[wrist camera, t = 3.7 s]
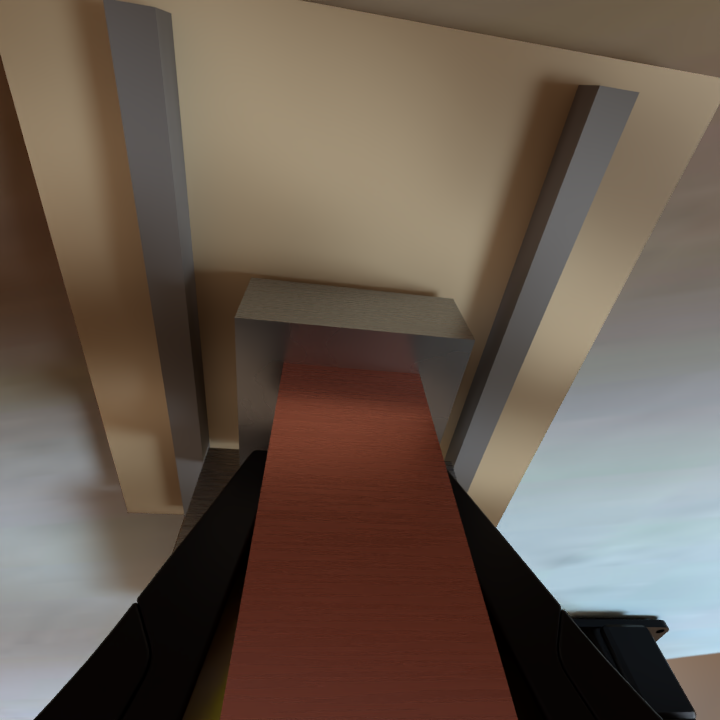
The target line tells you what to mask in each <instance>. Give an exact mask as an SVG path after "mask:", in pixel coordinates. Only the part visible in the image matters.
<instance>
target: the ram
mask: <svg viewBox="0 0 720 720" xmlns="http://www.w3.org/2000/svg"><path fill="white" fill-rule="evenodd" d="M474 342H475V339H474V337H473V335H472V333H471V331H470V329H469V328H468V326H467V324H466V322H465V320H464V318H463V316H462V314H461V313H460V311H459V309H458V307H457V305H456V303H455V301H454V299H450V298H441V297H431V296H422V295H412V294H403V293H394V292H384V291H375V290H365V289H356V288H346V287H337V286H327V285H318V284H308V283H299V282H290V281H280V280H271V279H261V278H252V277H251V279H250V282H249V284H248V286H247V289H246V291H245V294H244V296H243V298H242V301H241V303H240V306H239V308H238V310H237V313H236V315H235V345H236V374H237V403H238V431H239V449H226V448H208V451H207V454H206V457H205V460H204V463H203V466H202V469H201V472H200V475H199V478H198V481H197V484H196V487H195V490H194V493H193V496H192V498H191V501H190V504H189V507H188V510H187V513H186V516H185V519H184V522H183V525H182V528H181V531H180V534H179V537H178V540H177V543H176V546H175V549H174V551H175V550H176V548H177V547H178V546H179V544H180V543H181V542H182V541H183V539H184V538H185V537H186V535H187V534H188V533H189V532H190V530H191V529H192V528H193V526H194V525H195V524H196V523H197V521H198V520H199V519H200V518H201V516H202V515H203V514H204V512H205V511H206V510H207V509H208V507H209V506H210V505H211V503H212V502H213V501H214V500H215V498H216V497H217V496H218V494H219V493H220V492H221V491H222V489H223V488H224V487H225V485H226V484H227V483H228V482H229V480H230V479H231V478H232V477H233V475H234V474H235V473H236V471H237V470H238V469H239V468H240V466H241V465H242V464H243V462H244V461H245V460H246V459H247V457H248V456H249V455H250V453H251V452H252V451H254V450H256V449H258V450H268V453H267V459H266V465H265V470H264V476H263V481H262V487H261V493H260V498H259V504H258V509H257V515H256V521H255V526H254V532H253V537H252V543H251V548H250V554H249V560H248V565H247V571H246V576H245V582H244V588H243V593H242V599H241V604H240V610H239V616H238V621H237V627H236V632H235V638H234V644H233V649H232V655H231V660H230V666H229V672H228V677H227V683H226V688H225V694H224V700H223V705H222V711H221V716H220V720H518V718H517V715H516V711H515V708H514V704H513V701H512V697H511V694H510V690H509V687H508V683H507V680H506V676H505V673H504V669H503V666H502V662H501V659H500V655H499V651H498V648H497V644H496V641H495V637H494V634H493V630H492V627H491V623H490V620H489V616H488V613H487V609H486V606H485V602H484V599H483V595H482V592H481V588H480V585H479V581H478V578H477V574H476V571H475V567H474V564H473V560H472V557H471V553H470V550H469V546H468V543H467V539H466V536H465V532H464V529H463V525H462V522H461V518H460V515H459V511H458V508H457V504H456V501H455V497H454V494H453V490H452V487H451V483H450V480H449V476H448V473H447V469H448V471H449V472H450V473H451V474H452V475H453V477H454V478H455V479H456V480H457V478H456V475H455V471H454V468H453V465H452V462H450V461H444V458H443V455H442V451H441V448H440V442H441V439H442V436H443V434H444V431H445V428H446V425H447V422H448V419H449V416H450V413H451V410H452V407H453V404H454V401H455V398H456V395H457V392H458V389H459V387H460V384H461V381H462V378H463V375H464V372H465V369H466V366H467V363H468V360H469V357H470V354H471V351H472V348H473V345H474ZM446 468H447V469H446ZM174 551H173V552H174Z"/></svg>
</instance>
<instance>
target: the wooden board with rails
mask: <svg viewBox="0 0 720 720" xmlns="http://www.w3.org/2000/svg"><path fill="white" fill-rule="evenodd" d="M0 55H1V58H2V62H3V65H4V69H5V73H6V76H7V80H8V83H9V87H10V91H11V94H12V98H13V101H14V105H15V109H16V112H17V116H18V119H19V123H20V127H21V130H22V134H23V137H24V141H25V145H26V148H27V152H28V155H29V159H30V163H31V166H32V170H33V173H34V177H35V180H36V184H37V188H38V191H39V195H40V198H41V202H42V206H43V209H44V213H45V216H46V220H47V224H48V227H49V231H50V234H51V238H52V242H53V245H54V249H55V252H56V256H57V260H58V263H59V267H60V270H61V274H62V278H63V281H64V285H65V288H66V292H67V296H68V299H69V303H70V306H71V310H72V314H73V317H74V321H75V324H76V328H77V331H78V335H79V339H80V342H81V346H82V349H83V353H84V357H85V360H86V364H87V367H88V371H89V375H90V378H91V382H92V385H93V389H94V393H95V396H96V400H97V403H98V407H99V411H100V414H101V418H102V421H103V425H104V429H105V432H106V436H107V439H108V443H109V447H110V450H111V454H112V457H113V461H114V464H115V468H116V472H117V475H118V479H119V482H120V486H121V490H122V493H123V497H124V500H125V504H126V508H127V511H128V513H151V514H177V515H184V516H186V513H187V510H188V507H189V504H190V501H191V498H192V496H193V493H194V490H195V487H196V484H197V481H198V478H199V475H200V472H201V469H202V466H203V463H204V460H205V457H206V454H207V451H208V448H226V449H239V431H238V403H237V374H236V345H235V315H236V313H237V310H238V308H239V306H240V303H241V301H242V298H243V296H244V294H245V291H246V289H247V286H248V284H249V282H250V279H251V277H252V278H261V279H271V280H280V281H290V282H299V283H308V284H318V285H327V286H337V287H346V288H356V289H365V290H375V291H384V292H394V293H403V294H412V295H422V296H431V297H441V298H450V299H454V301H455V303H456V305H457V307H458V309H459V311H460V313H461V314H462V316H463V318H464V320H465V322H466V324H467V326H468V328H469V329H470V331H471V333H472V335H473V337H474V339H475V342H474V345H473V348H472V351H471V354H470V357H469V360H468V363H467V366H466V369H465V372H464V375H463V378H462V381H461V384H460V387H459V389H458V392H457V395H456V398H455V401H454V404H453V407H452V410H451V413H450V416H449V419H448V422H447V425H446V428H445V431H444V434H443V436H442V439H441V442H440V448H441V451H442V455H443V458H444V461H450V462H452V465H453V468H454V471H455V475H456V478H457V481H458V483H459V484H460V485H461V486H462V487H463V489H464V490H465V491H466V492H467V493H468V495H469V496H470V497H471V498H472V499H473V501H474V502H475V503H476V504H477V505H478V507H479V508H480V509H481V510H482V511H483V513H484V514H485V515H486V516H487V517H488V519H489V520H490V521H491V522H492V524H493V525H494V526H495V527H497V525H498V523H499V521H500V519H501V517H502V515H503V513H504V511H505V510H506V508H507V506H508V504H509V502H510V500H511V498H512V496H513V494H514V492H515V491H516V489H517V487H518V485H519V483H520V481H521V479H522V477H523V475H524V474H525V472H526V470H527V468H528V466H529V464H530V462H531V460H532V458H533V456H534V455H535V453H536V451H537V449H538V447H539V445H540V443H541V441H542V439H543V438H544V436H545V434H546V432H547V430H548V428H549V426H550V424H551V422H552V420H553V419H554V417H555V415H556V413H557V411H558V409H559V407H560V405H561V403H562V401H563V400H564V398H565V396H566V394H567V392H568V390H569V388H570V386H571V384H572V383H573V381H574V379H575V377H576V375H577V373H578V371H579V369H580V367H581V365H582V364H583V362H584V360H585V358H586V356H587V354H588V352H589V350H590V348H591V347H592V345H593V343H594V341H595V339H596V337H597V335H598V333H599V331H600V329H601V328H602V326H603V324H604V322H605V320H606V318H607V316H608V314H609V312H610V311H611V309H612V307H613V305H614V303H615V301H616V299H617V297H618V295H619V293H620V292H621V290H622V288H623V286H624V284H625V282H626V280H627V278H628V276H629V274H630V273H631V271H632V269H633V267H634V265H635V263H636V261H637V259H638V257H639V256H640V254H641V252H642V250H643V248H644V246H645V244H646V242H647V240H648V238H649V237H650V235H651V233H652V231H653V229H654V227H655V225H656V223H657V221H658V220H659V218H660V216H661V214H662V212H663V210H664V208H665V206H666V204H667V202H668V201H669V199H670V197H671V195H672V193H673V191H674V189H675V187H676V185H677V183H678V182H679V180H680V178H681V176H682V174H683V172H684V170H685V168H686V166H687V165H688V163H689V161H690V159H691V157H692V155H693V153H694V151H695V149H696V147H697V146H698V144H699V142H700V140H701V138H702V136H703V134H704V132H705V130H706V129H707V127H708V125H709V123H710V121H711V119H712V117H713V115H714V113H715V111H716V110H717V108H718V106H719V104H720V78H717V77H712V76H706V75H701V74H696V73H690V72H685V71H679V70H674V69H668V68H663V67H658V66H652V65H647V64H641V63H636V62H631V61H625V60H620V59H614V58H609V57H604V56H598V55H593V54H587V53H582V52H577V51H571V50H566V49H560V48H555V47H550V46H544V45H539V44H533V43H528V42H523V41H517V40H512V39H506V38H501V37H496V36H490V35H485V34H479V33H474V32H469V31H463V30H458V29H452V28H447V27H442V26H436V25H431V24H425V23H420V22H415V21H409V20H404V19H398V18H393V17H388V16H382V15H377V14H371V13H366V12H361V11H355V10H350V9H344V8H339V7H334V6H328V5H323V4H317V3H312V2H307V1H301V0H0Z"/></svg>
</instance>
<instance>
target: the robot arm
mask: <svg viewBox="0 0 720 720" xmlns="http://www.w3.org/2000/svg"><path fill="white" fill-rule="evenodd" d="M267 453H268V450H258V449H256V450H254V451H252V452H251V453H250V455H249V456H248V457H247V459H246V460H245V461H244V462H243V464H242V465H241V466H240V468H239V469H238V470H237V471H236V473H235V474H234V475H233V477H232V478H231V479H230V480H229V482H228V483H227V484H226V485H225V487H224V488H223V489H222V491H221V492H220V493H219V494H218V496H217V497H216V498H215V500H214V501H213V502H212V503H211V505H210V506H209V507H208V509H207V510H206V511H205V512H204V514H203V515H202V516H201V518H200V519H199V520H198V521H197V523H196V524H195V525H194V526H193V528H192V529H191V530H190V532H189V533H188V534H187V535H186V537H185V538H184V539H183V541H182V542H181V543H180V544H179V546H178V547H177V548H176V550H175V551H174V552H173V553H172V555H171V556H170V557H169V558H168V560H167V561H166V562H165V564H164V565H163V566H162V567H161V569H160V570H159V571H158V573H157V574H156V575H155V576H154V578H153V579H152V580H151V582H150V583H149V584H148V585H147V587H146V588H145V589H144V590H143V592H142V593H141V594H140V596H139V597H138V598H137V602H138V604H137V603H133V604H132V606H131V607H130V608H129V609H128V611H127V612H126V613H125V614H124V616H123V617H122V618H121V620H120V621H119V622H118V623H117V625H116V626H115V627H114V628H113V630H112V631H111V632H110V633H109V635H108V636H107V637H106V638H105V639H104V641H103V642H102V643H101V644H100V646H99V647H98V648H97V649H96V650H95V652H94V653H93V654H92V655H91V656H90V658H89V659H88V660H87V661H86V662H85V664H84V665H83V666H82V667H81V668H80V669H79V670H78V671H77V672H76V674H75V675H74V676H73V677H72V678H71V679H70V680H69V681H68V683H67V684H66V685H65V686H64V687H63V688H62V689H61V690H60V691H59V693H58V694H57V695H56V696H55V697H54V698H53V699H52V700H51V702H50V703H49V704H48V705H47V706H46V707H45V708H44V709H43V710H42V711H41V712H40V713H39V714H38V716H37V717H36V718H35V719H34V720H220V716H221V711H222V705H223V700H224V694H225V688H226V683H227V677H228V672H229V666H230V660H231V655H232V649H233V644H234V638H235V632H236V627H237V621H238V616H239V610H240V604H241V599H242V593H243V588H244V582H245V576H246V571H247V565H248V560H249V554H250V548H251V543H252V537H253V532H254V526H255V521H256V515H257V509H258V504H259V498H260V493H261V487H262V481H263V476H264V470H265V465H266V459H267ZM446 469H447V468H446ZM447 473H448V476H449V480H450V483H451V487H452V490H453V494H454V497H455V501H456V504H457V508H458V511H459V515H460V518H461V522H462V525H463V529H464V532H465V536H466V539H467V543H468V546H469V550H470V553H471V557H472V560H473V564H474V567H475V571H476V574H477V578H478V581H479V585H480V588H481V592H482V595H483V599H484V602H485V606H486V609H487V613H488V616H489V620H490V623H491V627H492V630H493V634H494V637H495V641H496V644H497V648H498V651H499V655H500V659H501V662H502V666H503V669H504V673H505V676H506V680H507V683H508V687H509V690H510V694H511V697H512V701H513V704H514V708H515V711H516V715H517V718H518V720H696V719H695V718H696V713H695V710H694V708H693V707H692V705H691V703H690V702H689V700H688V698H687V696H686V694H685V693H684V691H683V689H682V688H681V686H680V684H679V682H678V680H677V679H676V677H675V675H674V674H673V672H672V670H671V668H670V666H669V664H668V663H667V661H666V659H665V657H664V656H663V654H662V652H661V650H660V649H659V647H658V645H657V643H656V641H657V640H658V639H659V638H661V637H662V636H663V635H664V634H665V633H667V632H668V631H669V628H668V626H667V625H666V623H665V621H663V620H623V619H572V618H571V617H570V616H569V615H568V614H567V612H566V611H565V610H561V606H560V604H559V603H558V602H557V601H556V599H555V598H554V597H553V596H552V595H551V593H550V592H549V591H548V590H547V589H546V587H545V586H544V585H543V584H542V583H541V581H540V580H539V579H538V578H537V577H536V575H535V574H534V573H533V572H532V570H531V569H530V568H529V567H528V566H527V564H526V563H525V562H524V561H523V560H522V558H521V557H520V556H519V555H518V554H517V552H516V551H515V550H514V549H513V548H512V546H511V545H510V544H509V543H508V542H507V540H506V539H505V538H504V537H503V536H502V534H501V533H500V532H499V531H498V530H497V528H496V527H495V526H494V525H493V524H492V522H491V521H490V520H489V519H488V517H487V516H486V515H485V514H484V513H483V511H482V510H481V509H480V508H479V507H478V505H477V504H476V503H475V502H474V501H473V499H472V498H471V497H470V496H469V495H468V493H467V492H466V491H465V490H464V489H463V487H462V486H461V485H460V484H459V483H458V481H457V480H456V479H455V478H454V477H453V475H452V474H451V473H450V472H449V471H448V469H447Z"/></svg>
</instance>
